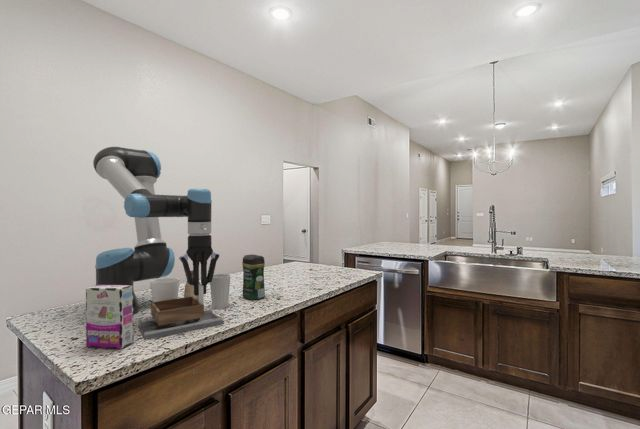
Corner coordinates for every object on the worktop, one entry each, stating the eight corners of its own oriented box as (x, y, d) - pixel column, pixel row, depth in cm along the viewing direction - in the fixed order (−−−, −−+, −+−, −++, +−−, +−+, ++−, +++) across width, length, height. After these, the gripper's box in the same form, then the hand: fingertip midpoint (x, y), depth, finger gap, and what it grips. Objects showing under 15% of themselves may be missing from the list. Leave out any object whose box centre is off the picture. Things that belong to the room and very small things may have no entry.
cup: (224, 309, 124) (224, 278, 124) (205, 308, 125) (205, 277, 125) (234, 303, 132) (234, 274, 132) (216, 303, 133) (215, 273, 133)
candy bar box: (134, 342, 93) (134, 284, 93) (121, 349, 88) (121, 288, 88) (100, 340, 95) (99, 283, 94) (85, 347, 90) (84, 287, 90)
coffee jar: (239, 297, 142) (239, 254, 141) (254, 294, 147) (254, 253, 147) (252, 301, 135) (252, 256, 135) (267, 297, 141) (267, 254, 141)
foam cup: (160, 323, 109) (160, 284, 109) (145, 318, 114) (144, 281, 114) (185, 315, 117) (185, 279, 117) (170, 311, 122) (169, 276, 122)
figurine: (204, 295, 145) (204, 268, 145) (197, 300, 138) (196, 271, 138) (189, 295, 146) (189, 268, 146) (181, 299, 139) (180, 271, 138)
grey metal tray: (138, 326, 106) (138, 321, 106) (210, 313, 119) (210, 308, 119) (145, 340, 94) (145, 333, 94) (223, 323, 108) (223, 318, 108)
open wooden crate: (151, 318, 108) (151, 302, 108) (192, 311, 115) (192, 296, 115) (158, 329, 97) (158, 312, 97) (204, 320, 105) (203, 304, 105)
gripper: (182, 236, 103) (182, 310, 104) (222, 234, 111) (222, 303, 111) (176, 234, 109) (176, 305, 110) (215, 233, 117) (215, 299, 117)
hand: (200, 304), depth 111 cm, fingers closed
